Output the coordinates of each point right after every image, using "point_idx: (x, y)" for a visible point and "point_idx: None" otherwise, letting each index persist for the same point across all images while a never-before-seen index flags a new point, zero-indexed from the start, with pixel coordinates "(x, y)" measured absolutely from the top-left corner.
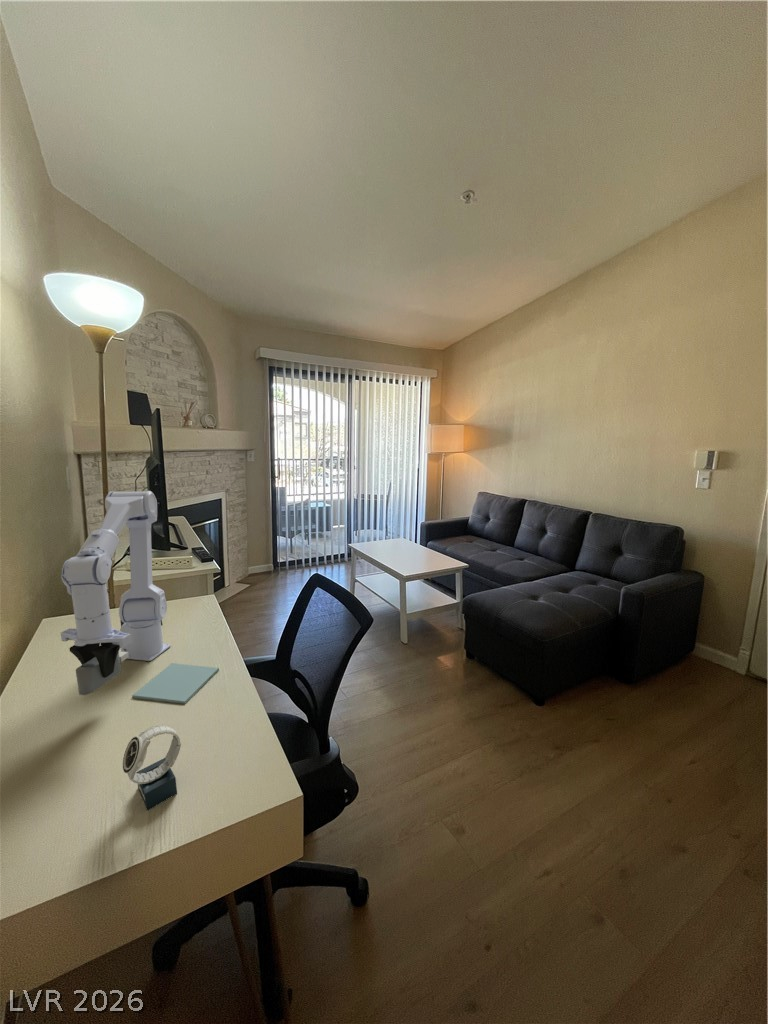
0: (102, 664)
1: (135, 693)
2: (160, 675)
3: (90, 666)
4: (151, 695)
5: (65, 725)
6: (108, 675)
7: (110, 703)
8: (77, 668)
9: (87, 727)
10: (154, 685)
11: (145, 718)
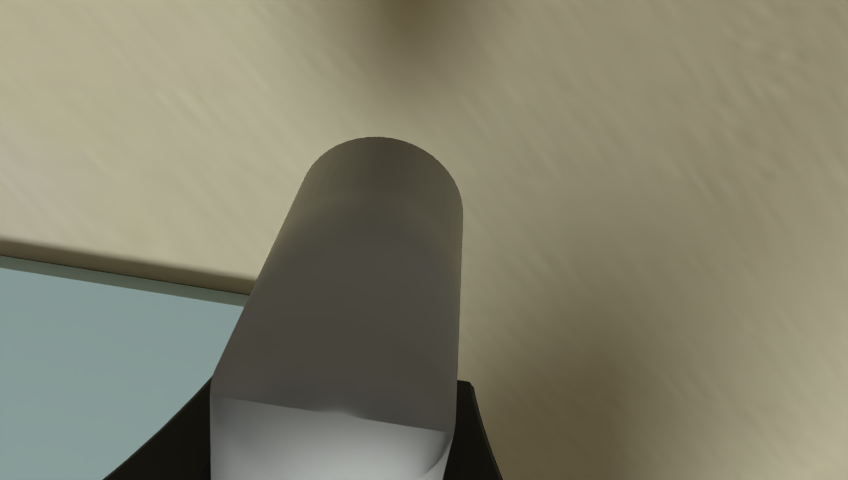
0: (135, 470)
1: None
2: None
3: (280, 440)
4: (158, 308)
5: (583, 30)
6: None
7: None
8: (445, 405)
9: (389, 7)
10: None
11: (32, 102)
